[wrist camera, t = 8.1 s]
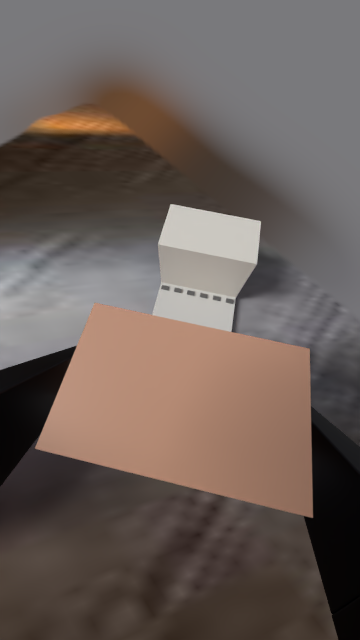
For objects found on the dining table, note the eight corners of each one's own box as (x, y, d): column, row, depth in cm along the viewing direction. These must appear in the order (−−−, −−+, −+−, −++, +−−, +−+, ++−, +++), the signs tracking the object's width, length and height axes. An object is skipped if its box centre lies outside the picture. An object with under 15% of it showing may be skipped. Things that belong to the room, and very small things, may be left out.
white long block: (211, 471, 14) (234, 512, 9) (115, 447, 14) (84, 474, 9) (238, 264, 21) (260, 219, 15) (171, 250, 21) (171, 202, 16)
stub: (205, 426, 15) (312, 517, 3) (138, 410, 15) (34, 448, 4) (211, 384, 16) (309, 348, 5) (148, 370, 16) (94, 302, 5)
